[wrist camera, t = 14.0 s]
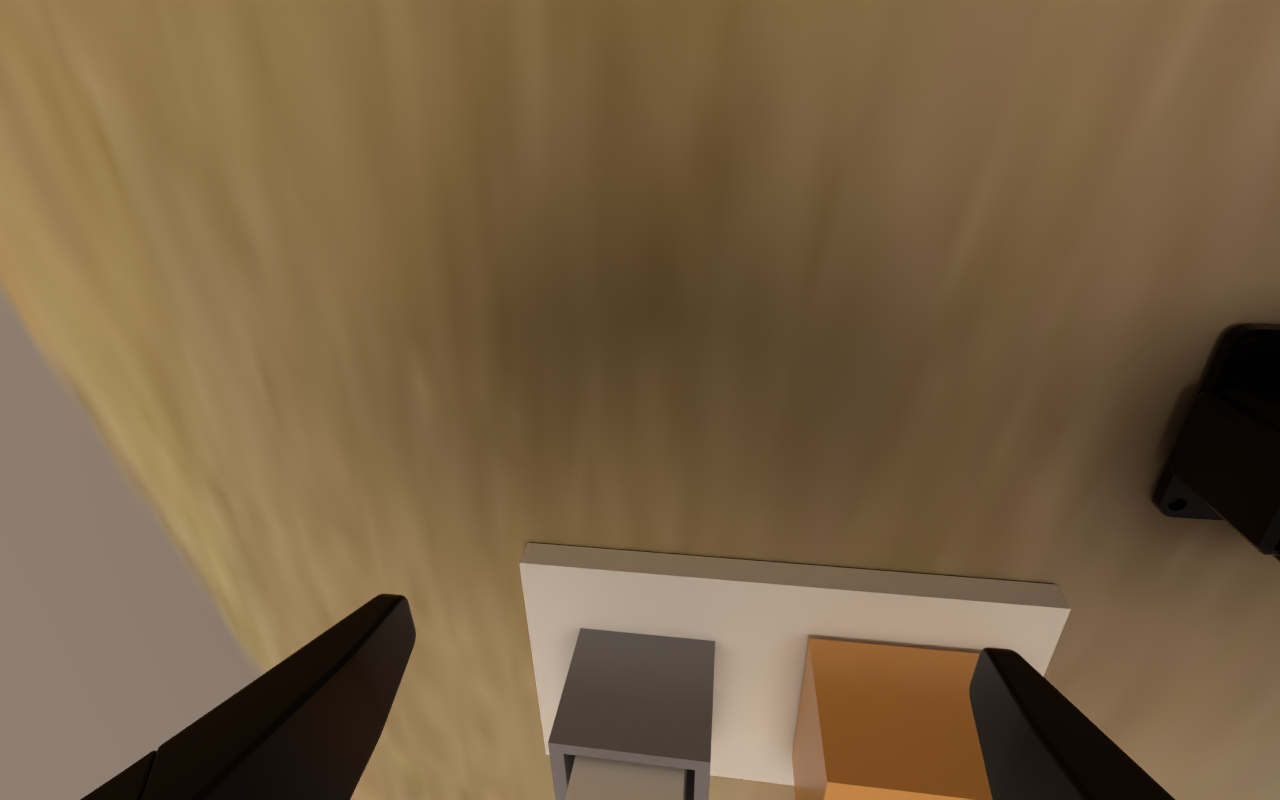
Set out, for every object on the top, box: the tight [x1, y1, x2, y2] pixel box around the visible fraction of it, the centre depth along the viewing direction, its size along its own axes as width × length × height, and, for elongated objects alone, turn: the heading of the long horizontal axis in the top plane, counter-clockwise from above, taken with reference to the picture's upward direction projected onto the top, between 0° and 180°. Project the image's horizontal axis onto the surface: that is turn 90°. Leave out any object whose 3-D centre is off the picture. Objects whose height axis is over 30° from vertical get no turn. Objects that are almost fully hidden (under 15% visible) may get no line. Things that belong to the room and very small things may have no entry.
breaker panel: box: [519, 543, 1071, 800], centre depth 24 cm, size 20×12×6 cm, turn 91°
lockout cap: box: [792, 638, 992, 800], centre depth 22 cm, size 7×7×6 cm
